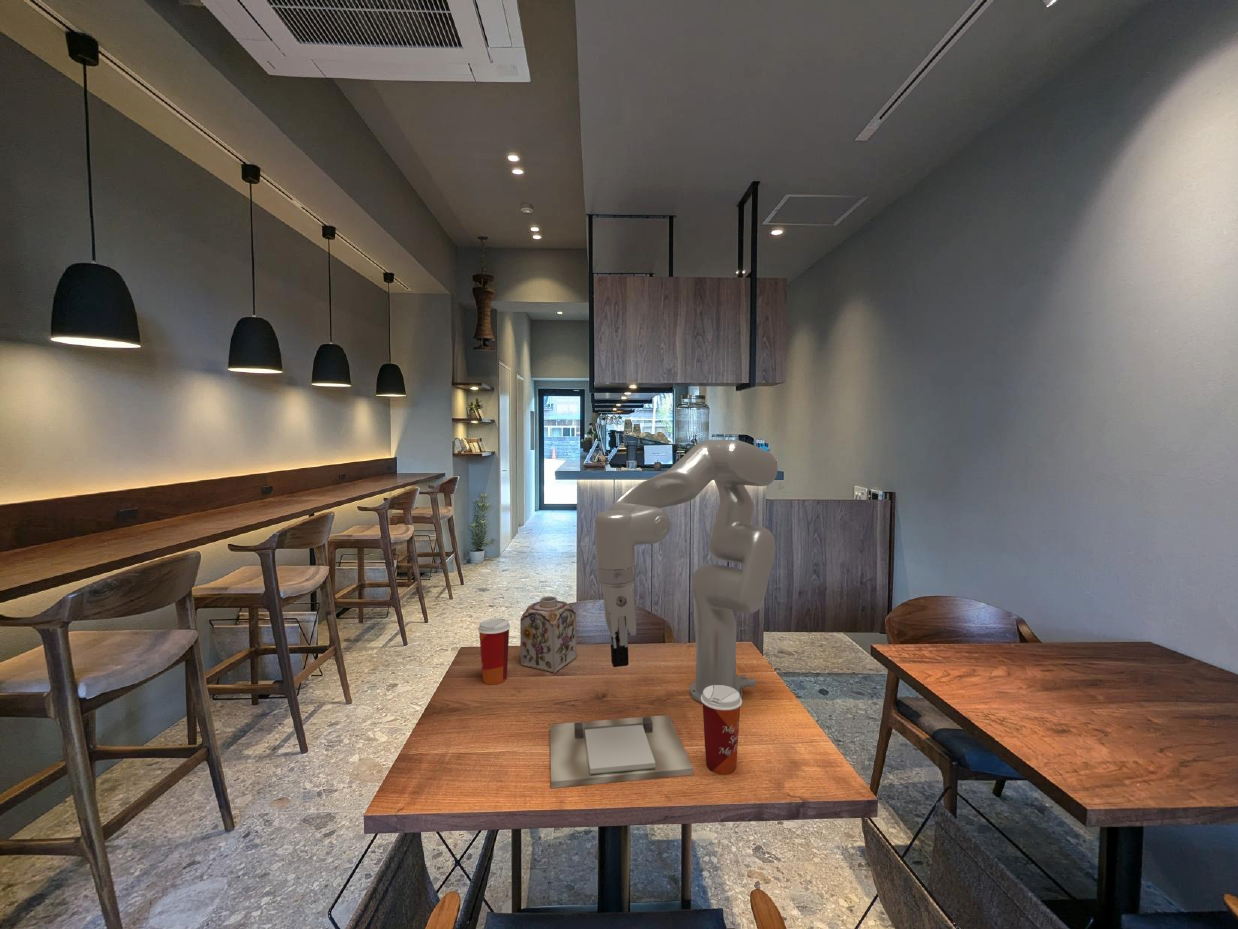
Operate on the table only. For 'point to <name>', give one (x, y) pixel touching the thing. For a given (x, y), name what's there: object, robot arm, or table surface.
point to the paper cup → (721, 727)
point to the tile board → (574, 771)
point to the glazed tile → (618, 748)
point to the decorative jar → (548, 635)
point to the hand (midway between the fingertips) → (620, 664)
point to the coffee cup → (494, 649)
